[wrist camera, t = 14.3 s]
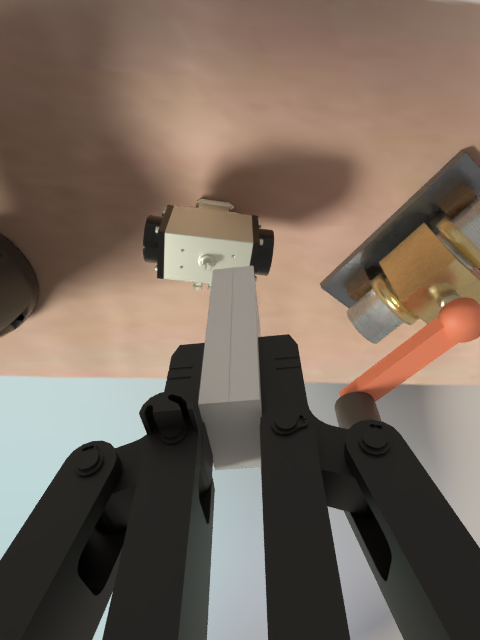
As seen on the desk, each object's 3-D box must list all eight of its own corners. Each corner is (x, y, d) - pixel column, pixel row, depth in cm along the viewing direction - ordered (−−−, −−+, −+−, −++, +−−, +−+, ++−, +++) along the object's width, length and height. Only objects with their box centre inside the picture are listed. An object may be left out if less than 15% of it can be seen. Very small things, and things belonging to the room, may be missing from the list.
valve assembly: (369, 320, 54) (400, 395, 44) (320, 283, 51) (341, 355, 40) (510, 203, 45) (594, 263, 34) (461, 149, 42) (537, 197, 31)
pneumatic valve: (160, 186, 44) (137, 235, 34) (269, 200, 45) (277, 251, 35) (159, 234, 47) (139, 291, 38) (261, 246, 48) (266, 304, 38)
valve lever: (462, 289, 35) (540, 386, 26) (489, 312, 37) (572, 412, 28) (324, 396, 43) (346, 500, 34) (350, 412, 45) (379, 515, 36)
